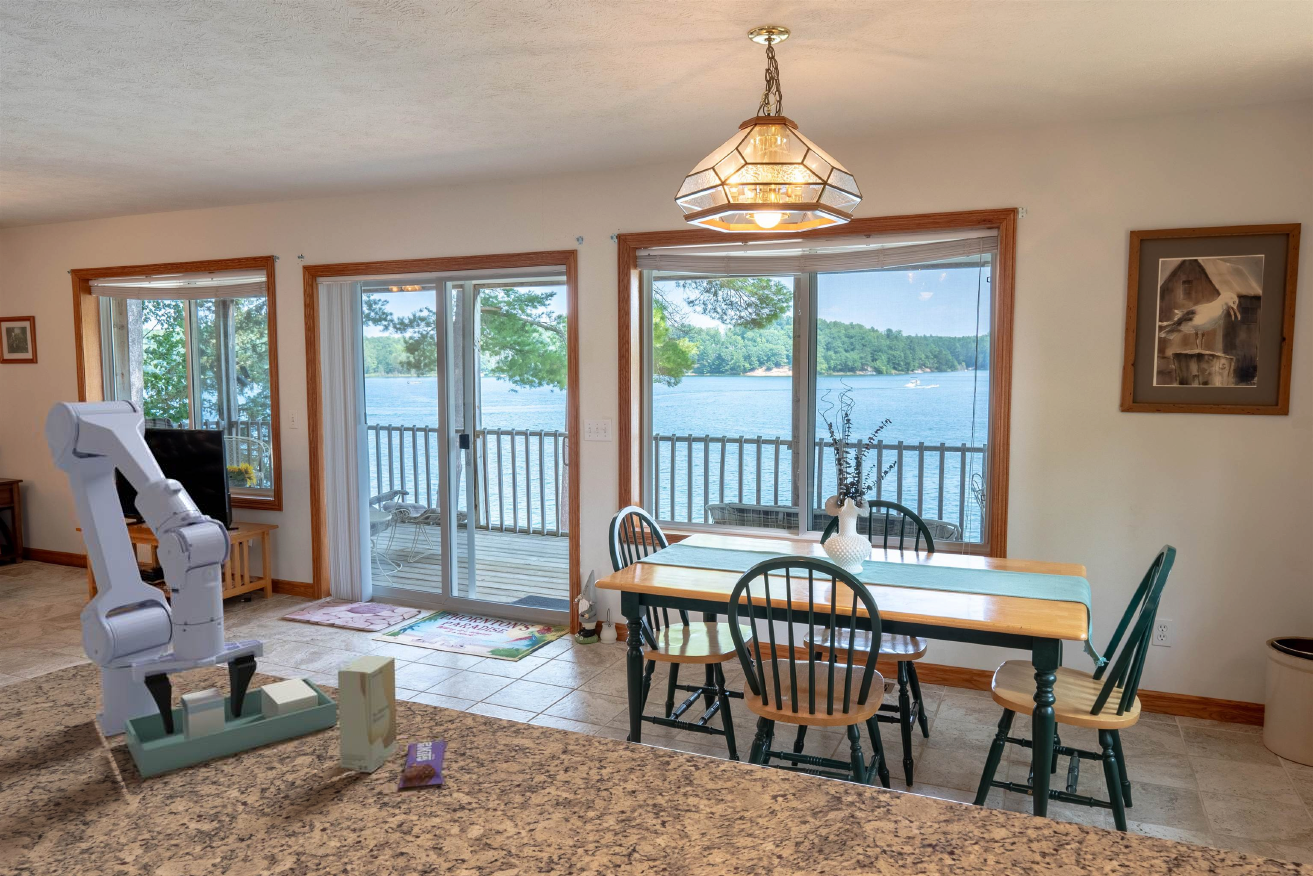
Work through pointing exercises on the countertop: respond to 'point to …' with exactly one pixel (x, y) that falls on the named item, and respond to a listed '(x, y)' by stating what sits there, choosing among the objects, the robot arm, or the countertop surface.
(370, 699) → the skincare box
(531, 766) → the countertop surface
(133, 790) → the countertop surface
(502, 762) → the countertop surface
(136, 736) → the tray
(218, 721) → the milk carton
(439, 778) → the snack package
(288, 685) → the white box
